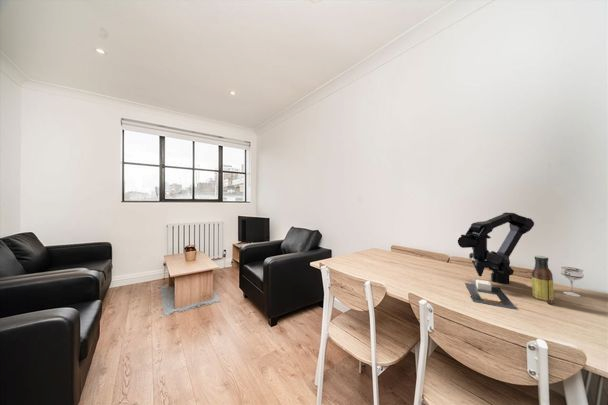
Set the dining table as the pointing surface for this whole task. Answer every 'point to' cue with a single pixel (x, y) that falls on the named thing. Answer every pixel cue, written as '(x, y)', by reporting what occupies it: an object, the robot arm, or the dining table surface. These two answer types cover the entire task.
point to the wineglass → (572, 277)
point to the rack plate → (494, 290)
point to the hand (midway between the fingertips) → (480, 276)
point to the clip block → (483, 285)
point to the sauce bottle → (542, 280)
